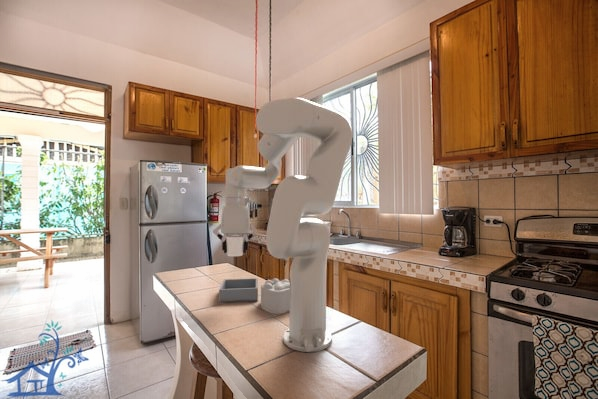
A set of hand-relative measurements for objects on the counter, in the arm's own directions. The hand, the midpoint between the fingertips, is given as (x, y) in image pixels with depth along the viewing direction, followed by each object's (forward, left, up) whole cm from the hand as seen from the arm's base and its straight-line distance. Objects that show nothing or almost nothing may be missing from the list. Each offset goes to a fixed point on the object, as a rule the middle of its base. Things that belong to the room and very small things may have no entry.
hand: (235, 251), depth 97 cm
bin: (+6, -1, -18) cm, 19 cm away
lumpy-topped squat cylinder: (-6, -15, -18) cm, 24 cm away
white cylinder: (0, 0, -1) cm, 1 cm away
